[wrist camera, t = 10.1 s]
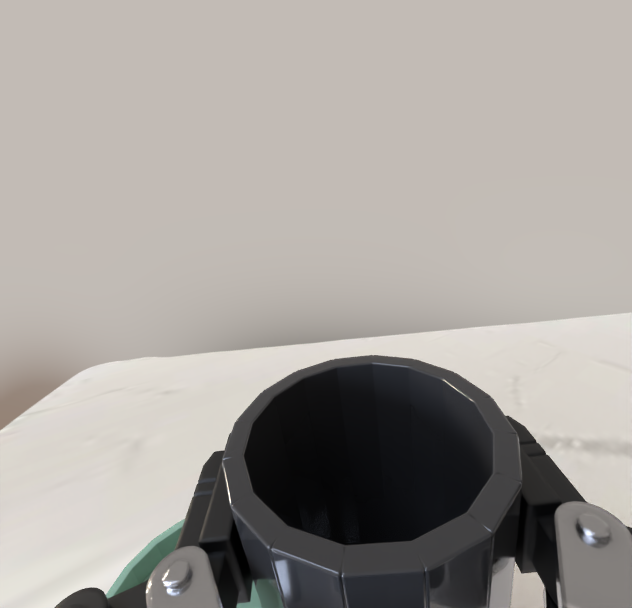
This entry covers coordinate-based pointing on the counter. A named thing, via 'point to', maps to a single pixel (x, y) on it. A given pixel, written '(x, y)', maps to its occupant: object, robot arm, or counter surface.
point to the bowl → (150, 559)
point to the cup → (376, 488)
